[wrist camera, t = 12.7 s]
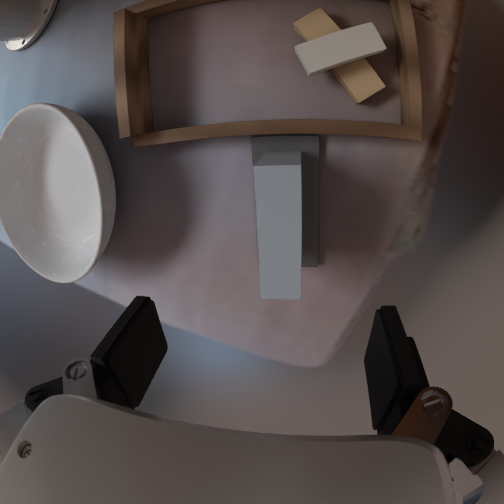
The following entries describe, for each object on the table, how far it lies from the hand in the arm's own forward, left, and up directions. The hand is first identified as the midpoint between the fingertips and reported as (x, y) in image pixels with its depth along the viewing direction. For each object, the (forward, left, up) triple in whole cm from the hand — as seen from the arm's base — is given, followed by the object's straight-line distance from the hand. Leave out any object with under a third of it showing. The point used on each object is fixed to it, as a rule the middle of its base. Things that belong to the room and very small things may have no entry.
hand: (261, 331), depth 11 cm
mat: (0, 0, -18) cm, 18 cm away
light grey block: (0, 0, -17) cm, 17 cm away
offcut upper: (-14, +5, -16) cm, 22 cm away
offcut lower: (-14, +5, -19) cm, 24 cm away
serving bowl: (-4, -26, -18) cm, 32 cm away
